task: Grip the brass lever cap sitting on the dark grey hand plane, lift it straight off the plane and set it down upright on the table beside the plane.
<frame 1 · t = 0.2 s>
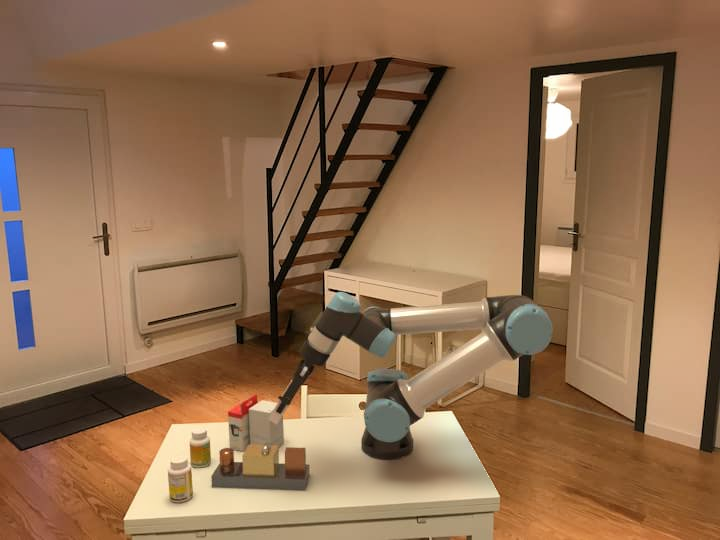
hand: (278, 411, 157), 16 cm above the table, tool tilted 30°, fingers open, 13 cm apart
supplement box: (267, 447, 172), on the table
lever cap: (261, 470, 152), point 3 cm above the table, touching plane
supplement bottle 2: (181, 498, 145), on the table
ink box: (244, 445, 173), on the table
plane: (261, 480, 153), on the table
supplement bottle: (201, 464, 162), on the table
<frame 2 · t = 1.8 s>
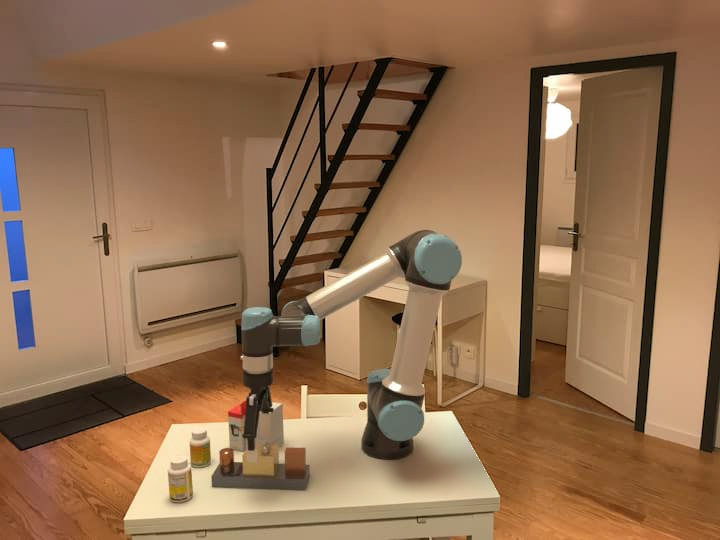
hand: (259, 448, 151), 9 cm above the table, tool pointing down, fingers open, 13 cm apart
nothing on the table moved.
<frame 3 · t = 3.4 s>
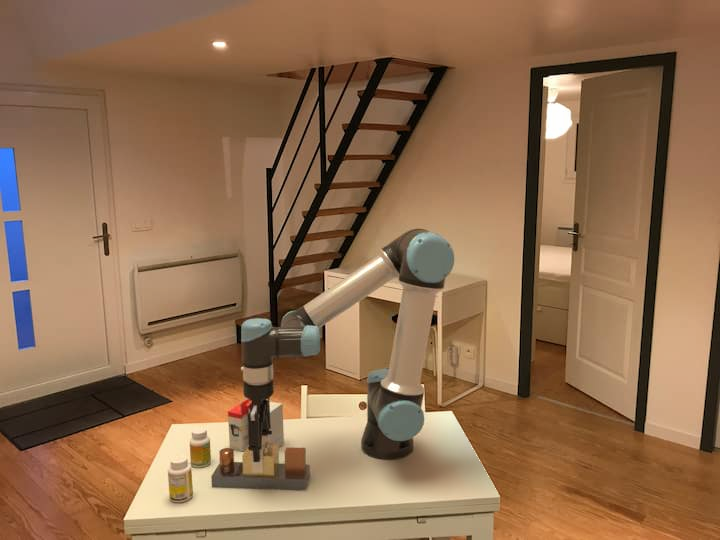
hand: (261, 465, 152), 4 cm above the table, tool pointing down, fingers closed on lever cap, 6 cm apart
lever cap: (261, 470, 152), point 3 cm above the table, touching gripper, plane
everything else where it was.
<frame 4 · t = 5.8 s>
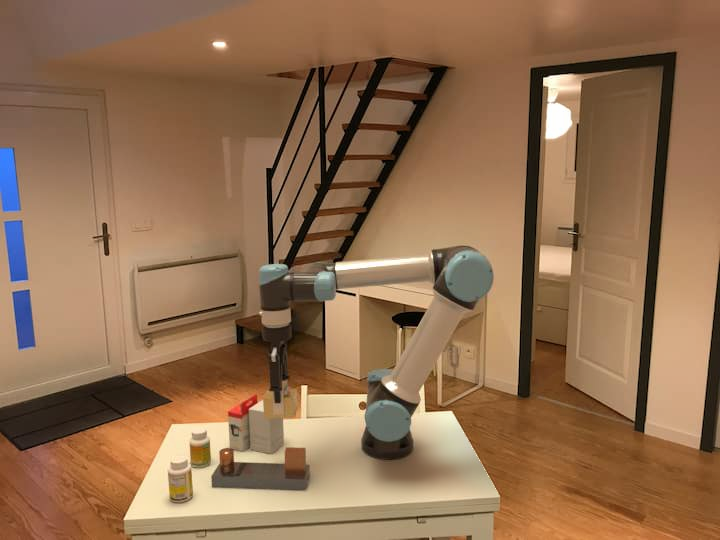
hand: (281, 408, 156), 17 cm above the table, tool pointing down, fingers closed on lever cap, 6 cm apart
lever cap: (281, 413, 156), point 16 cm above the table, touching gripper
everything else where it was.
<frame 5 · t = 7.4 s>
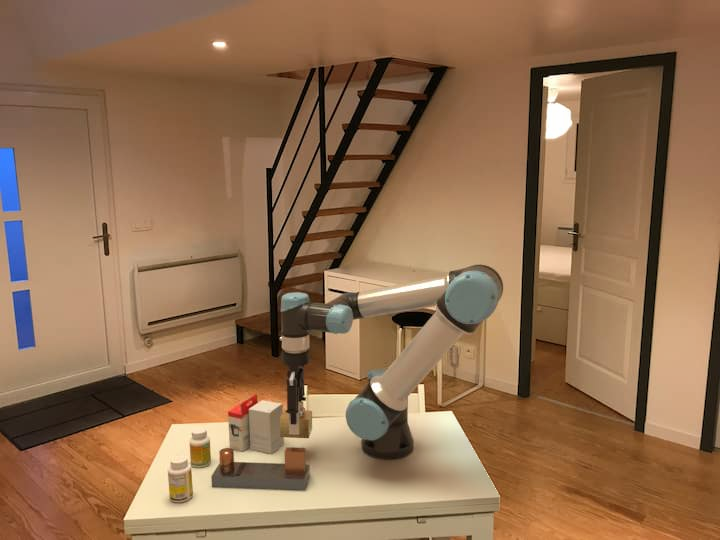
hand: (296, 428, 165), 8 cm above the table, tool pointing down, fingers closed on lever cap, 6 cm apart
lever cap: (296, 432, 165), point 7 cm above the table, touching gripper
everything else where it was.
when the fingers open (3 cm above the table, at t = 8.6 s): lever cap drops 2 cm, on the table.
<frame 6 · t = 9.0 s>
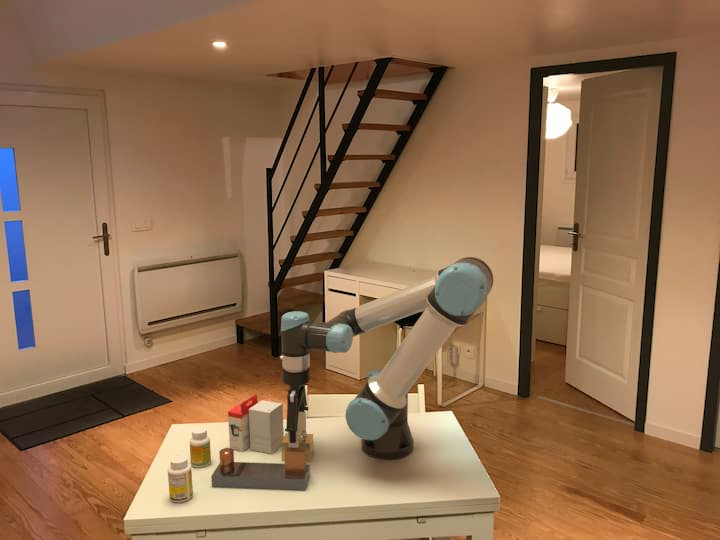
hand: (297, 442, 165), 4 cm above the table, tool pointing down, fingers open, 11 cm apart
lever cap: (297, 456, 166), on the table
everything else where it was.
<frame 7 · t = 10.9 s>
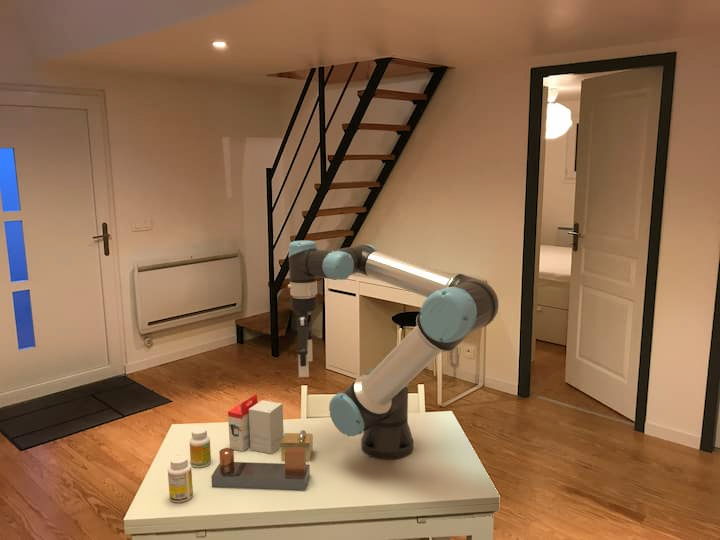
hand: (306, 368, 168), 24 cm above the table, tool pointing down, fingers open, 13 cm apart
nothing on the table moved.
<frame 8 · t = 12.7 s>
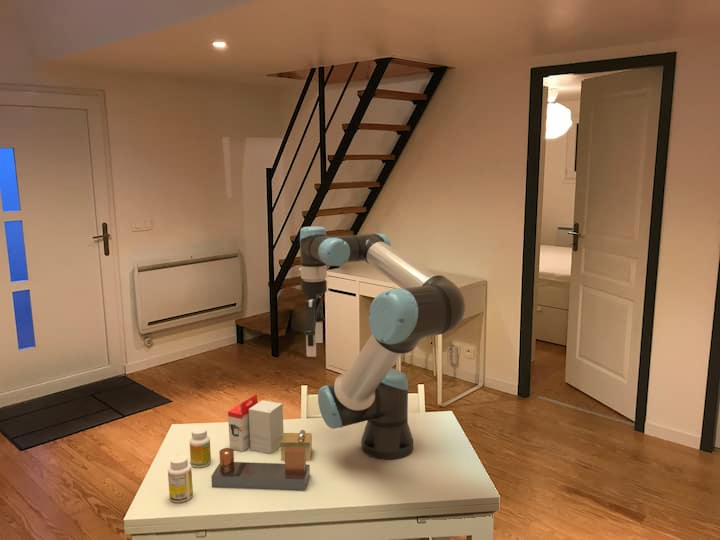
hand: (315, 349, 176), 27 cm above the table, tool pointing down, fingers open, 13 cm apart
nothing on the table moved.
at the end: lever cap inside the target area (0.5 cm from its centre), on the table; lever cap touching table; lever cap tilted 0° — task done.
